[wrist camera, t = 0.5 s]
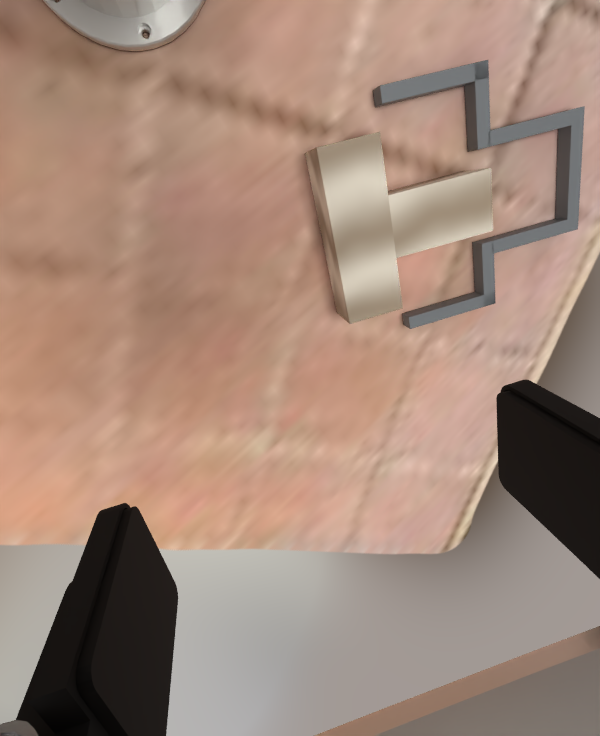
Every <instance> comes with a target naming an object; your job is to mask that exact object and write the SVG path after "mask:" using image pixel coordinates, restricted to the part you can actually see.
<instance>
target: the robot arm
mask: <svg viewBox="0 0 600 736" xmlns="http://www.w3.org/2000/svg"><path fill="white" fill-rule="evenodd" d="M43 1H44V2H45V3H46V5H47V6H48V7H49V8H50V9H51V10H52V11H53V12H54V13H55V14H56V15H57V16H58V17H59V18H60V19H61V20H62V21H63V22H65V23H66V24H67V25H69V26H70V27H71V28H73V29H74V30H76V31H77V32H78V33H80V34H81V35H83V36H85V37H87V38H89V39H91V40H93V41H95V42H97V43H99V44H101V45H104V46H108V47H111V48H115V49H118V50H127V51H142V50H149V49H155V48H157V47H160V46H162V45H165V44H167V43H169V42H171V41H173V40H174V39H175V38H177V37H178V36H179V35H181V34H182V33H183V32H185V30H186V29H187V28H188V27H189V26H190V25H191V23H192V22H193V21H194V20H195V19H196V17H197V15H198V13H199V11H200V10H201V8H202V6H203V4H204V2H205V0H61V1H59V2H58V3H57V2H55V0H43ZM143 32H148V33H149V34H150V36H149V38H148V39H145V38H144V37H143V35H142V34H143ZM497 432H498V466H499V478H500V481H501V483H502V485H503V487H504V488H505V489H506V490H507V491H508V492H509V493H510V494H511V495H512V496H513V497H514V498H515V499H516V500H517V501H518V502H519V503H521V504H522V505H523V506H524V507H525V508H526V509H527V510H528V511H529V512H530V513H531V514H532V515H533V516H534V517H535V518H536V519H537V520H538V521H540V523H542V524H543V525H544V526H545V527H546V528H547V529H548V530H549V531H550V532H551V533H552V534H553V535H554V536H555V537H556V538H557V539H558V540H559V541H560V542H562V543H563V544H564V545H565V546H566V547H567V548H568V549H569V550H570V551H571V552H572V553H573V554H574V555H575V556H576V557H577V558H578V559H579V560H580V561H581V562H583V563H584V564H585V565H586V566H587V567H588V568H589V569H590V570H591V571H592V572H593V573H594V574H595V575H596V576H597V577H598V578H599V579H600V418H598V417H596V416H595V415H593V414H591V413H589V412H587V411H585V410H583V409H581V408H579V407H578V406H576V405H574V404H572V403H570V402H568V401H567V400H565V399H563V398H561V397H559V396H557V395H555V394H553V393H552V392H550V391H548V390H546V389H544V388H542V387H541V386H539V385H537V384H535V383H533V382H531V381H529V380H521V381H518V382H515V383H512V384H508V385H505V386H504V387H502V389H501V393H499V394H498V395H497ZM177 605H178V592H177V587H176V584H175V582H174V580H173V578H172V576H171V573H170V571H169V570H168V568H167V565H166V563H165V561H164V559H163V557H162V556H161V553H160V551H159V549H158V547H157V545H156V543H155V541H154V539H153V537H152V535H151V533H150V531H149V529H148V527H147V525H146V523H145V521H144V519H143V517H142V515H141V513H140V511H139V509H138V508H137V507H131V508H130V506H129V505H128V504H127V503H123V504H120V505H117V506H114V507H110V508H107V509H104V510H101V511H100V512H99V513H98V515H97V518H96V520H95V523H94V526H93V528H92V531H91V534H90V536H89V539H88V542H87V544H86V547H85V550H84V552H83V555H82V557H81V560H80V563H79V566H78V568H77V571H76V573H75V576H74V579H73V581H72V582H71V583H70V584H69V586H68V587H67V589H66V591H65V594H64V597H63V599H62V602H61V604H60V607H59V609H58V612H57V614H56V617H55V620H54V622H53V625H52V627H51V630H50V633H49V635H48V638H47V641H46V644H45V646H44V649H43V651H42V654H41V656H40V659H39V661H38V664H37V667H36V669H35V672H34V674H33V677H32V679H31V682H30V684H29V687H28V690H27V692H26V695H25V697H24V700H23V703H22V705H21V708H20V710H19V713H18V716H17V718H16V720H14V721H11V722H7V723H3V724H1V725H0V736H166V729H167V717H168V706H169V695H170V684H171V673H172V661H173V650H174V639H175V638H174V637H175V627H176V616H177ZM315 736H600V626H599V627H596V628H593V629H591V630H588V631H586V632H583V633H580V634H577V635H575V636H573V637H570V638H567V639H564V640H562V641H559V642H556V643H554V644H551V645H549V646H546V647H543V648H540V649H538V650H535V651H532V652H530V653H527V654H525V655H522V656H519V657H517V658H514V659H512V660H509V661H507V662H504V663H501V664H498V665H496V666H493V667H491V668H488V669H485V670H483V671H480V672H478V673H475V674H473V675H470V676H467V677H465V678H462V679H459V680H457V681H454V682H452V683H449V684H447V685H444V686H441V687H439V688H436V689H434V690H431V691H428V692H426V693H423V694H420V695H418V696H415V697H413V698H410V699H407V700H405V701H402V702H400V703H397V704H395V705H392V706H389V707H387V708H384V709H381V710H379V711H377V712H374V713H371V714H369V715H366V716H363V717H361V718H358V719H356V720H353V721H351V722H348V723H346V724H343V725H341V726H338V727H335V728H333V729H330V730H328V731H325V732H323V733H320V734H318V735H315Z"/></svg>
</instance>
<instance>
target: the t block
mask: <svg viewBox="0 0 600 736" xmlns="http://www.w3.org/2000/svg"><path fill="white" fill-rule="evenodd" d="M305 156H306V161H307V166H308V171H309V176H310V181H311V186H312V191H313V196H314V201H315V206H316V211H317V216H318V221H319V226H320V231H321V236H322V240H323V245H324V250H325V255H326V260H327V265H328V270H329V275H330V280H331V285H332V290H333V295H334V300H335V305H336V310H337V313H338V314H339V315H340V316H341V317H343V318H344V319H345V320H346V321H347V322H348V323H349V324H352V323H355V322H358V321H362V320H365V319H369V318H372V317H375V316H379V315H382V314H385V313H389V312H392V311H396V310H399V309H402V308H403V306H402V298H401V290H400V283H399V275H398V267H397V259H396V258H398V257H402V256H405V255H409V254H412V253H416V252H420V251H423V250H427V249H430V248H434V247H437V246H441V245H444V244H448V243H451V242H455V241H458V240H462V239H465V238H469V237H472V236H476V235H480V234H483V233H487V232H490V231H493V211H492V177H491V168H486V169H478V170H470V171H462V172H459V173H455V174H451V175H447V176H444V177H440V178H436V179H432V180H429V181H425V182H421V183H417V184H414V185H410V186H406V187H402V188H399V189H395V190H391V191H388V190H387V182H386V175H385V167H384V159H383V151H382V144H381V136H380V132H377V133H373V134H369V135H365V136H361V137H357V138H353V139H349V140H345V141H341V142H337V143H333V144H329V145H325V146H321V147H317V148H315V149H313V150H311V151H309V152H307V153H305Z"/></svg>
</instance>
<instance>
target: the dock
mask: <svg viewBox="0 0 600 736" xmlns="http://www.w3.org/2000/svg"><path fill="white" fill-rule="evenodd" d="M461 86H465V106H466V126H467V145H468V151H473V150H478V149H482V148H486V147H490V146H494V145H497V144H501V143H505V142H509V141H513V140H517V139H520V138H524V137H528V136H532V135H536V134H539V133H543V132H547V131H551V130H555V129H558V149H557V180H556V211H555V219H553V220H550V221H546V222H543V223H539V224H536V225H532V226H529V227H525V228H522V229H518V230H515V231H511V232H508V233H504V234H501V235H497V236H493V237H490V238H486V239H483V240H479V241H476V242H472V244H473V263H474V283H475V292H473V293H470V294H466V295H463V296H460V297H456V298H453V299H450V300H446V301H443V302H440V303H436V304H433V305H430V306H426V307H423V308H420V309H416V310H413V311H409V312H406V313H403V314H402V316H403V324H404V325H405V326H406V327H408V328H410V329H412V328H415V327H418V326H422V325H425V324H428V323H432V322H435V321H438V320H442V319H445V318H448V317H451V316H455V315H458V314H461V313H465V312H468V311H471V310H475V309H478V308H481V307H484V306H488V305H491V304H494V303H495V275H494V253H497V252H500V251H504V250H507V249H511V248H514V247H518V246H521V245H525V244H528V243H531V242H535V241H538V240H542V239H545V238H549V237H552V236H556V235H559V234H563V233H566V232H569V231H573V230H576V229H578V216H579V198H580V180H581V162H582V143H583V125H584V107H585V106H583V107H580V108H576V109H572V110H568V111H564V112H560V113H556V114H552V115H548V116H545V117H541V118H537V119H533V120H529V121H525V122H521V123H517V124H513V125H510V126H506V127H502V128H498V129H494V130H490V105H489V71H488V60H485V61H481V62H477V63H473V64H468V65H464V66H460V67H456V68H452V69H448V70H443V71H439V72H435V73H431V74H427V75H422V76H418V77H414V78H410V79H406V80H402V81H397V82H393V83H389V84H385V85H381V86H379V87H377V88H376V89H374V90H373V95H374V102H375V107H380V106H384V105H388V104H392V103H396V102H400V101H404V100H408V99H412V98H416V97H420V96H425V95H429V94H433V93H437V92H441V91H445V90H449V89H453V88H457V87H461Z"/></svg>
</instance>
